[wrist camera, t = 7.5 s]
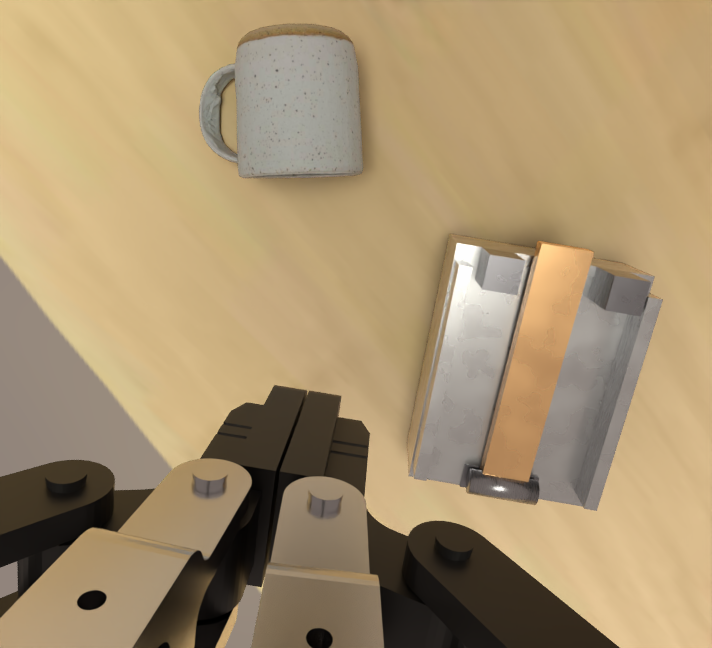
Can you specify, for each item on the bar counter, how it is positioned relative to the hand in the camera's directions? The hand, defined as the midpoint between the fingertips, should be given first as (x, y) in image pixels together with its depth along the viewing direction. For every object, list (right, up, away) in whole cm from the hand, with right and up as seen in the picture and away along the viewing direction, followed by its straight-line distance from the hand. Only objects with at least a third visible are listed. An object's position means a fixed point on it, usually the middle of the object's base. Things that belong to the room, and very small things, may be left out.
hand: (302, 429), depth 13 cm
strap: (+12, -1, +24) cm, 27 cm away
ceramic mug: (-3, +16, +26) cm, 31 cm away
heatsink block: (+12, 0, +29) cm, 32 cm away
